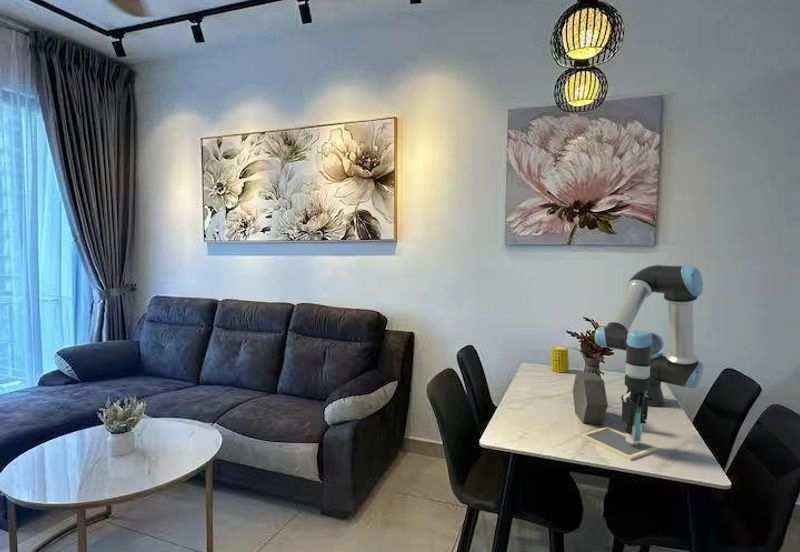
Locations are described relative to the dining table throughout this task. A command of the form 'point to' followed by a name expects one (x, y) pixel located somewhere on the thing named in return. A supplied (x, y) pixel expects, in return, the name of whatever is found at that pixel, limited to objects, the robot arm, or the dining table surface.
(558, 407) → the dining table surface
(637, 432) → the teal marker
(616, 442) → the slate board
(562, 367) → the food
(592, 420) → the planter
